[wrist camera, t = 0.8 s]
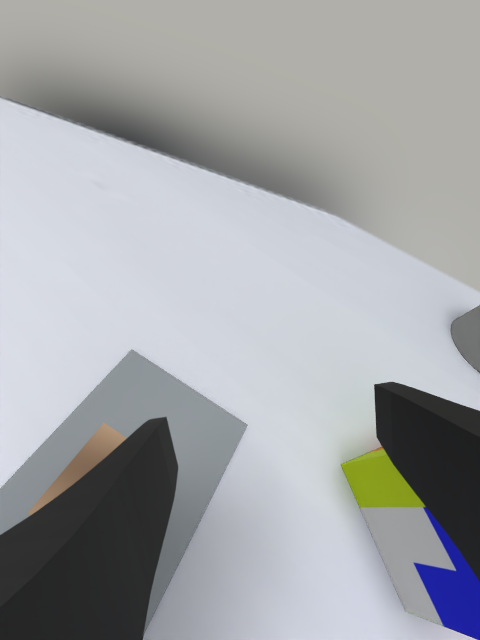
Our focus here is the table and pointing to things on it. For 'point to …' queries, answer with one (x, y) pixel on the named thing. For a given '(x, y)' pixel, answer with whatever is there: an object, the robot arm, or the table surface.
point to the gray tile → (125, 417)
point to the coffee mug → (468, 336)
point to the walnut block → (82, 463)
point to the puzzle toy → (414, 546)
